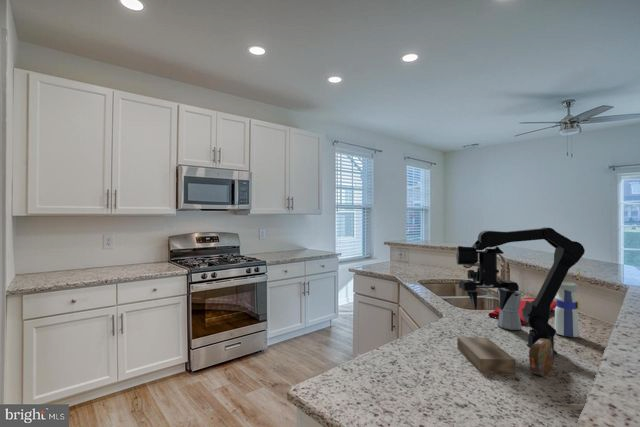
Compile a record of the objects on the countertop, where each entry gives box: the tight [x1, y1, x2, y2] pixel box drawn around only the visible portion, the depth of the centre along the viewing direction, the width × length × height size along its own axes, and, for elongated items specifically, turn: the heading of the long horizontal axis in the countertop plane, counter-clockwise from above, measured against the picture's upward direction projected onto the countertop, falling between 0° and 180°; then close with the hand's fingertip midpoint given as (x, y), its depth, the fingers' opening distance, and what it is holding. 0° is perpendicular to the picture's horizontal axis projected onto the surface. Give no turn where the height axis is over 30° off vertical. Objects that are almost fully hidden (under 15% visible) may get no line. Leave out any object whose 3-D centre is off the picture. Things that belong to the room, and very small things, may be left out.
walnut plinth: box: [456, 336, 516, 374], centre depth 102 cm, size 10×17×4 cm, turn 178°
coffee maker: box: [496, 288, 523, 331], centre depth 135 cm, size 15×9×18 cm, turn 179°
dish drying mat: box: [488, 297, 557, 325], centre depth 155 cm, size 16×41×4 cm, turn 127°
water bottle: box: [553, 269, 581, 338], centre depth 126 cm, size 8×9×25 cm
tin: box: [528, 338, 555, 377], centre depth 96 cm, size 15×3×8 cm, turn 131°
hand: (488, 309), depth 116 cm, fingers open, 9 cm apart
